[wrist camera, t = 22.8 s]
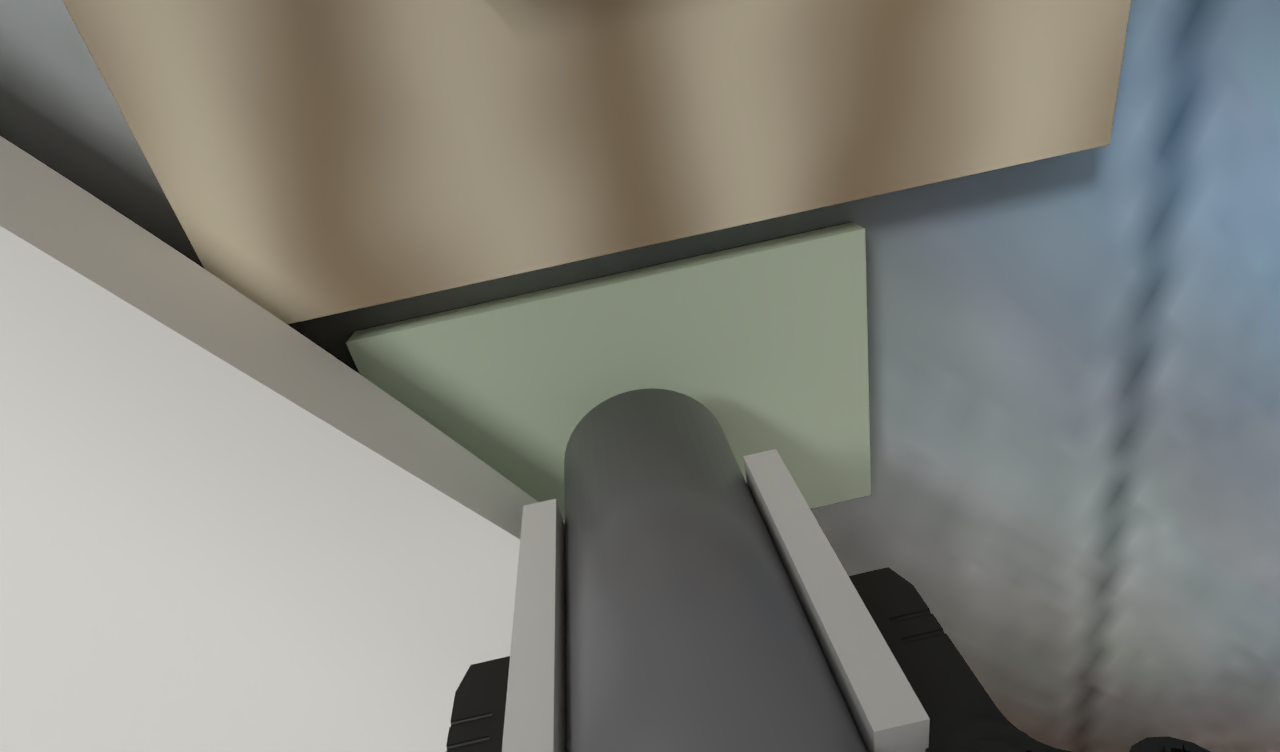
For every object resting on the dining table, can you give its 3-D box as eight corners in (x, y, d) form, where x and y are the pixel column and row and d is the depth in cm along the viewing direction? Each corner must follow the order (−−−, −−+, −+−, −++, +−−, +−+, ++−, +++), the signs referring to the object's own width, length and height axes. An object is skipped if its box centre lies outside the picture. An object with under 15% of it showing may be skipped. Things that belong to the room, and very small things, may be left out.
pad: (459, 572, 21) (455, 589, 20) (354, 331, 17) (346, 343, 16) (860, 481, 21) (871, 495, 20) (852, 222, 17) (865, 228, 16)
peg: (585, 541, 18) (622, 1271, 7) (545, 410, 16) (510, 1147, 5) (736, 506, 18) (1004, 1175, 7) (715, 371, 16) (1048, 1016, 5)
